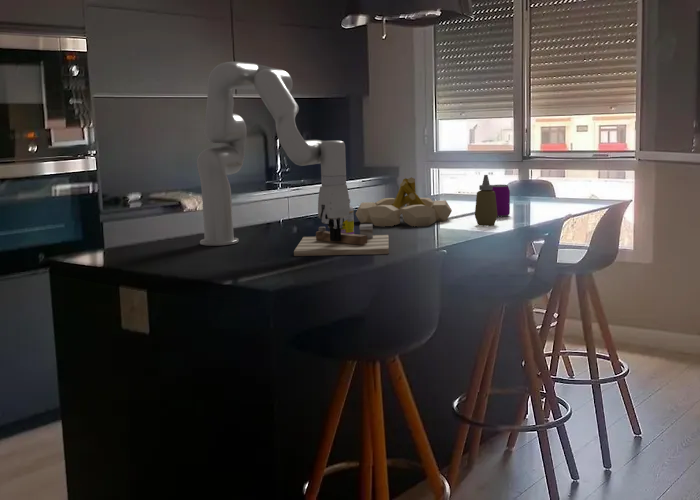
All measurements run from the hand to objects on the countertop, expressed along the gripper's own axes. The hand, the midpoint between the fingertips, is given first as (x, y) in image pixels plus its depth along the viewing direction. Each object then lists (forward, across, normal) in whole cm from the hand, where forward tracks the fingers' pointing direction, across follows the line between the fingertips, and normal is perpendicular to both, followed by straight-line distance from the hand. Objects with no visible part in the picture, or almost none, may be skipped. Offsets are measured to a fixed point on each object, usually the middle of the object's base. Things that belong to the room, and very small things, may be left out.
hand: (335, 240), depth 255 cm
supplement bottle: (+3, -21, -15) cm, 26 cm away
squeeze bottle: (+3, -67, +12) cm, 68 cm away
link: (+1, -3, -1) cm, 3 cm away
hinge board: (+3, -4, 0) cm, 5 cm away
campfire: (+3, -62, -21) cm, 66 cm away
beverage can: (+3, -91, +3) cm, 91 cm away
